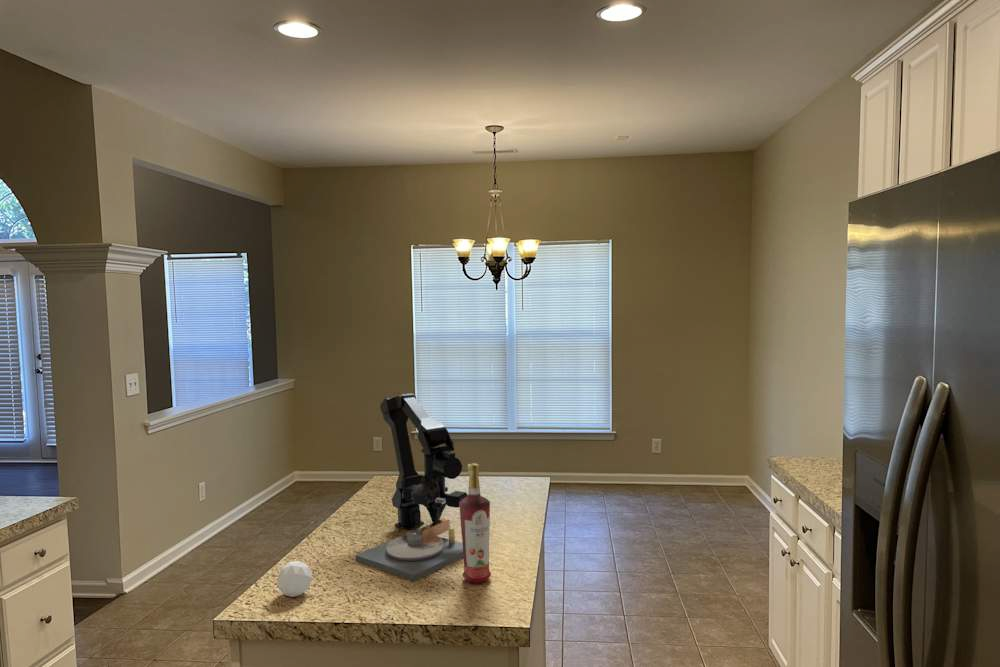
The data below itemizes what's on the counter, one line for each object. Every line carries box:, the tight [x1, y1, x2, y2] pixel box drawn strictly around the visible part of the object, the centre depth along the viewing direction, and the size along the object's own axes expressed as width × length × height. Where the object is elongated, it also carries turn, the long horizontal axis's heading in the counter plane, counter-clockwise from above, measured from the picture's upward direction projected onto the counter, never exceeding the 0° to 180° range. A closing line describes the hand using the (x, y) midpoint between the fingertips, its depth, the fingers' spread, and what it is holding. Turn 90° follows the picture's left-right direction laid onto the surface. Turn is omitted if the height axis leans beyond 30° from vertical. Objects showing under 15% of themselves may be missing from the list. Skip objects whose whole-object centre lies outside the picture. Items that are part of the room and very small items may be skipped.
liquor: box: [458, 462, 492, 585], centre depth 154 cm, size 7×7×28 cm
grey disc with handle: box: [386, 517, 451, 561], centre depth 173 cm, size 20×15×5 cm
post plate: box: [355, 526, 464, 582], centre depth 171 cm, size 22×22×6 cm
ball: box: [276, 560, 313, 598], centre depth 150 cm, size 8×8×8 cm
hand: (435, 525), depth 180 cm, fingers closed
